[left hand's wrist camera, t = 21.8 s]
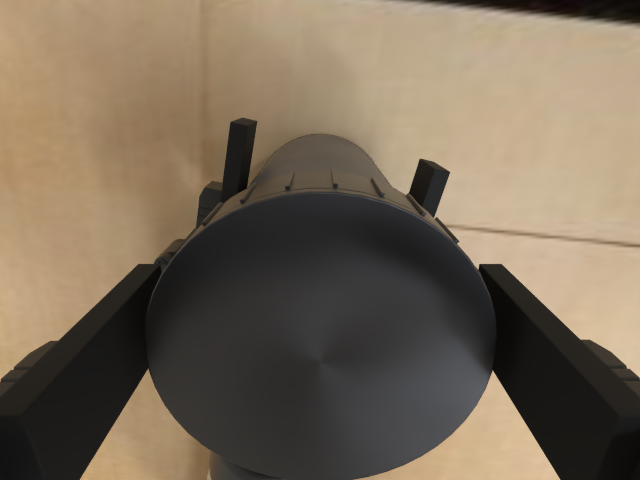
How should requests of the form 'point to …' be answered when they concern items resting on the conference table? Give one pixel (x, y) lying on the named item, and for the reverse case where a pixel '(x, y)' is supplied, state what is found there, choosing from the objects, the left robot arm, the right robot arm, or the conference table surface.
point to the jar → (320, 158)
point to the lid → (320, 329)
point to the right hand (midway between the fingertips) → (341, 143)
